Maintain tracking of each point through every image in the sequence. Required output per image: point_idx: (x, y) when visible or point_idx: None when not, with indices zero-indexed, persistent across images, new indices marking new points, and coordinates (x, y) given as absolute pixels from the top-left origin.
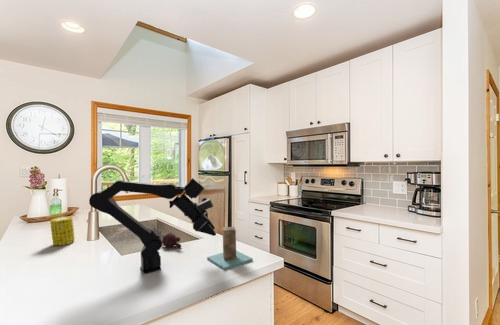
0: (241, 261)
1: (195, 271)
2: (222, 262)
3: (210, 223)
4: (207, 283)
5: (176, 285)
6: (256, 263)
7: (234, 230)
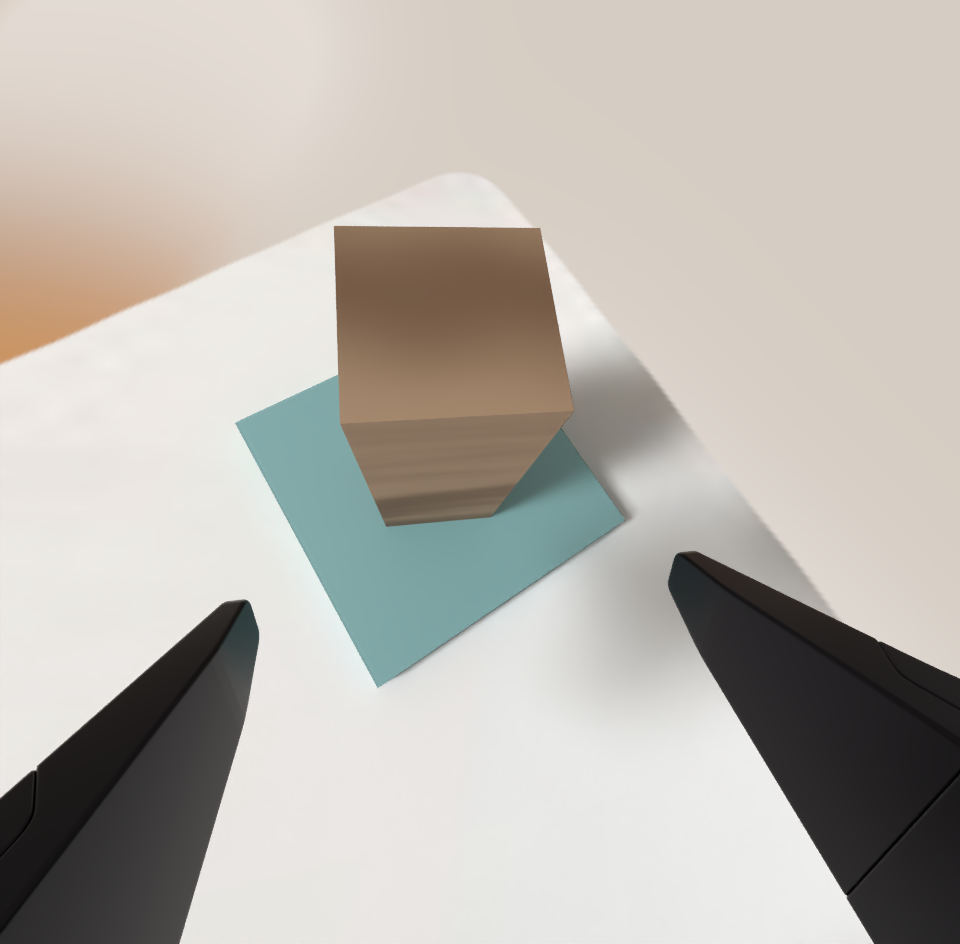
0: None
1: (628, 763)
2: (527, 533)
3: (167, 741)
4: None
5: None
6: None
7: (538, 253)
